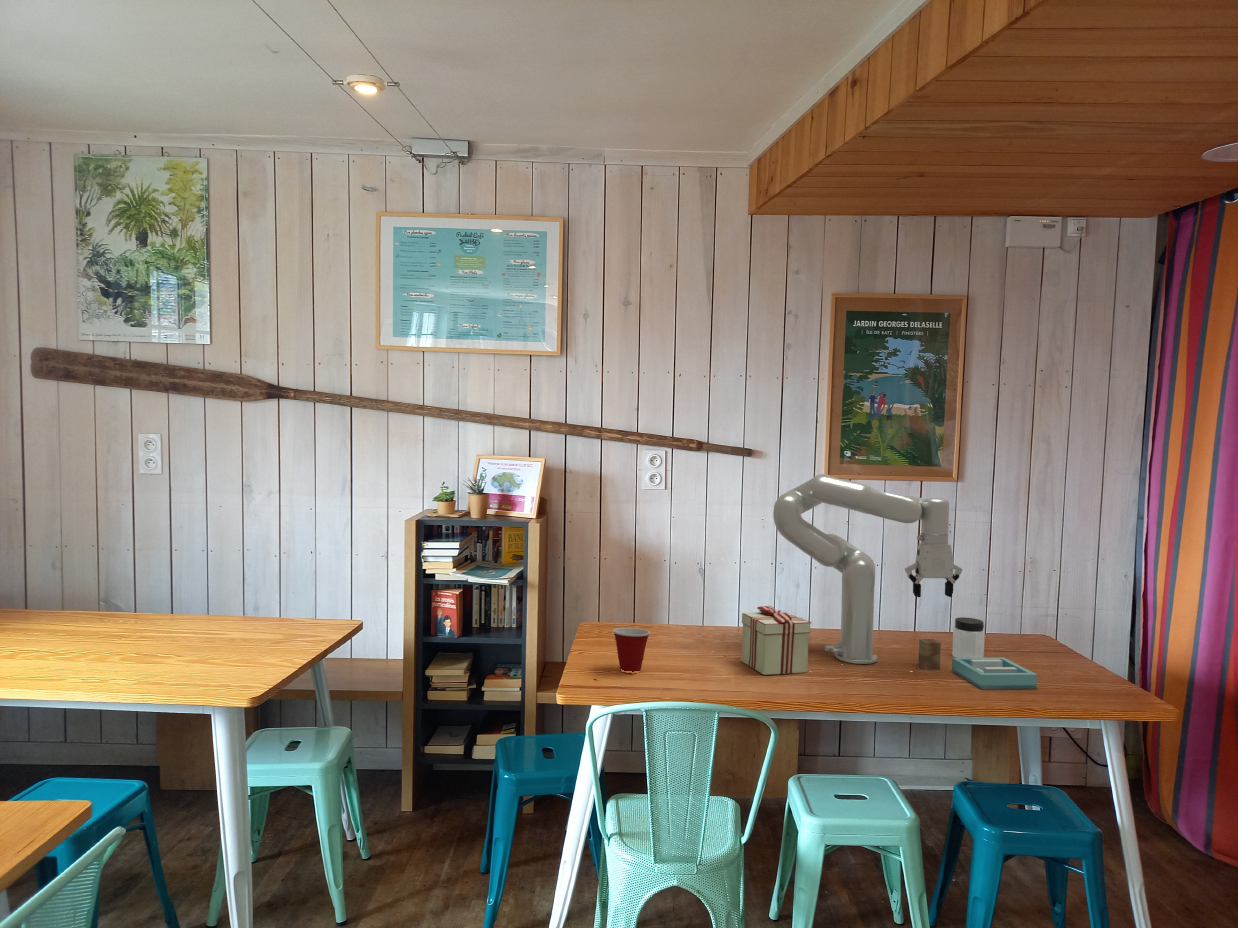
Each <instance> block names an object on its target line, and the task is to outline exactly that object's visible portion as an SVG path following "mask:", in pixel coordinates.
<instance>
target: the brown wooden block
mask: <svg viewBox="0 0 1238 928" xmlns="http://www.w3.org/2000/svg"><path fill="white" fill-rule="evenodd" d="M941 645H942V643H941V642H940V641H938V640H937V639H935V638H919V639H918V660H917V661H918V662H917V665H918V666H919V667H921V668H922V669H923V670H928V671H931V670H932V671H934V670H935V671H936V670H941V652H942V651H941V647H942V646H941Z"/></svg>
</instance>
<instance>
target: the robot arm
mask: <svg viewBox="0 0 1238 928" xmlns="http://www.w3.org/2000/svg"><path fill="white" fill-rule="evenodd" d="M821 504H826V505H830V506H835V507H839V508H844V509H847V510H851V511H855V512H858V513H861V514H865V515H866V514H867V515H871V516H874V517H877V518H878V517H879V518H882V519H886V520H890V521H893V522H894V521H895V522H898V523H904V524H913V523H917V521H918V520H920V521H921V523H920V525H921V530H920V534H919V535H917V536H916V540H917V541H920V542H919V543H918V546H917V550H916V554H915V556H916V557H915V562H914V563H912V564H911V565H909V566H907V567H905V568H904V572H905V574H906V575H907V578H908V579H909V580H910V581H911V582H912V593H913V596H914V597H917V598H921V597H922V595H921V594H922V584H921V583H920V582H921V581H922V580H923V579H945V583H944V596H946V597H949V598H952V597H953V593H954V584H956V582H957V580H958V579H959V578H960V576H961V574H962V572H963V568H962V567H959V566H957V565H955V564H954V555H953V549H952V545H951V544H949V518H950V503H949V500H947V499H946V498H944V497H943V498H942V497H926V498H925V497H917V496H911V495H905V496H901V495H896V494H892V493H889V492H884V491H881V490H877V489H875V488H874V487H871V486H869V485H867V484H864V483H860V482H855V481H850V480H847V479H841V478H838V477H833V476H832V475H829V474H827V473H820V474H817V475H815V476H814V477H812V478H811V479H809V480H806V482H804V483H801V484H800V485H798V486H796V487H794V488H792V489H790V490H788V491H786V492H785V493H783V494H781V495H780V496H779V497H777V499H776V501H775V502H774V504H773V505H774V506H773V510H772V511H773V512H772V513H773V523H774V525H775V528H776V529H777V531H778V533H779V534H780V535H781V536H782V537H783V538H784V539H785V540H786V541H788V542H789V543H791V544H792V545H793V546H795V547H796V548H798V549H799V550H800V551H801V552H802V553H805V554H806V555H807V556H809V557H811V558H812V559H813V560H814V561H816V562H817V563H818V564H819V565H822V566H823V567H826V568H834V569H835V570H837V571H838V572H840V573H841V613H840V614H841V616H840V617H841V619H840V620H841V621H840V622H841V624H840V641H837V643H836V644H834V645H832V644H831V645H830V644H825V645H824V651H825V652H831V654H834V657H835V658H836V659H837V660H839V661H841V662H845V663H848V664H849V663H850V664H856V665H857V664H858V665H869V664H871V665H872V664H874V663H876V662H877V661H878V655H876V654H875V653H874V652H873V646H874V645H873V642H874V639H873V638H874V614H875V613H874V612H875V610H874V609H875V605H874V604H875V585H876V566H875V565H876V564H875V562H874V560H873V559H872V558H871V557H870V555H868V554H867V553H865V552H864V551H862V550H861V549H859V548H857V547H856V546H855V545H853V544H851V543H850V542H849V541H848V540H845V539H844V538H842V537H841V536H839V535H837V534H834V533H825V532H823V531H822V530H820V529H819V528H817V527H816V526H814V525H813V524H812V523H810V522H808V521H806V520H805V519H804V518H803V517H802V515H803V514H804V513H806V512H807V511H809V510H812V509H813V508H815V507H817V506H819V505H821ZM913 571H914V572H915V575H914V574H913V573H912V572H913Z"/></svg>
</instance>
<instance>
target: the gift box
mask: <svg viewBox="0 0 1238 928" xmlns="http://www.w3.org/2000/svg"><path fill="white" fill-rule="evenodd" d="M756 609H758V612H742V613H741V614H742V615H741V624H742V639H741V658H740V659H741V662H742V663H743V664H744V665H747V666H748V667H749V668H752V669H753V670H754V671H756V672H759V673H760V674H761V675H763V676H768V675H769V676H770V675H783V674H784V675H786V674H801V673H808V663H809V662H808V661H809V660H808V658H809V640H810V639H809V635H810V633H811V624H812V621H809V620H807V619H804V618H803V617H799V616H796V615H794V614H791V613H789V612H787V611H782V610H776V608H775V607H774V606H772V605H763V606H757V607H756Z"/></svg>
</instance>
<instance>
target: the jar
mask: <svg viewBox="0 0 1238 928" xmlns="http://www.w3.org/2000/svg"><path fill="white" fill-rule="evenodd" d="M984 627H985V626H984V621H983V620H981V619H980V618H979V619H978V618H974V617H966V616H965V617H964V616H963V617H962V616H961V617H956V618H955V620H954V626H953V629H952V630H953V632H952V633H953V634H952V654H951V655H952V658H985V657H984V656H985V639H986V637H985V633H986V631H985V630H984Z"/></svg>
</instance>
